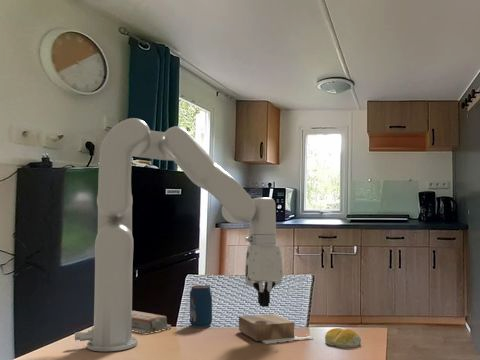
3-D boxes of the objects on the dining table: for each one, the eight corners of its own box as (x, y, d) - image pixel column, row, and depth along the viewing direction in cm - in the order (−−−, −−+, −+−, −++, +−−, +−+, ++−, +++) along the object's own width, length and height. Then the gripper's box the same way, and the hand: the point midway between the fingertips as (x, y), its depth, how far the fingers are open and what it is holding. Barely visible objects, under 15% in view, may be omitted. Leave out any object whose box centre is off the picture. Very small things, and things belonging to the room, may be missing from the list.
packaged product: (172, 313, 140) (147, 319, 132) (172, 330, 139) (146, 336, 131) (134, 308, 151) (109, 312, 143) (134, 323, 150) (108, 328, 142)
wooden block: (256, 325, 121) (294, 322, 125) (238, 316, 134) (273, 313, 138) (257, 341, 120) (294, 337, 124) (238, 330, 134) (273, 327, 137)
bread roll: (337, 338, 125) (336, 323, 125) (365, 344, 118) (365, 328, 118) (317, 344, 119) (317, 328, 120) (346, 350, 113) (345, 333, 113)
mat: (265, 343, 119) (265, 342, 119) (241, 330, 136) (241, 328, 136) (313, 339, 124) (313, 337, 124) (284, 326, 141) (284, 325, 141)
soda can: (214, 323, 145) (214, 285, 147) (208, 328, 139) (208, 288, 140) (194, 323, 147) (194, 285, 148) (186, 327, 140) (186, 287, 142)
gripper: (243, 241, 126) (244, 310, 123) (292, 240, 131) (293, 306, 129) (234, 240, 133) (234, 305, 131) (281, 240, 138) (282, 302, 136)
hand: (264, 305), depth 130 cm, fingers closed
